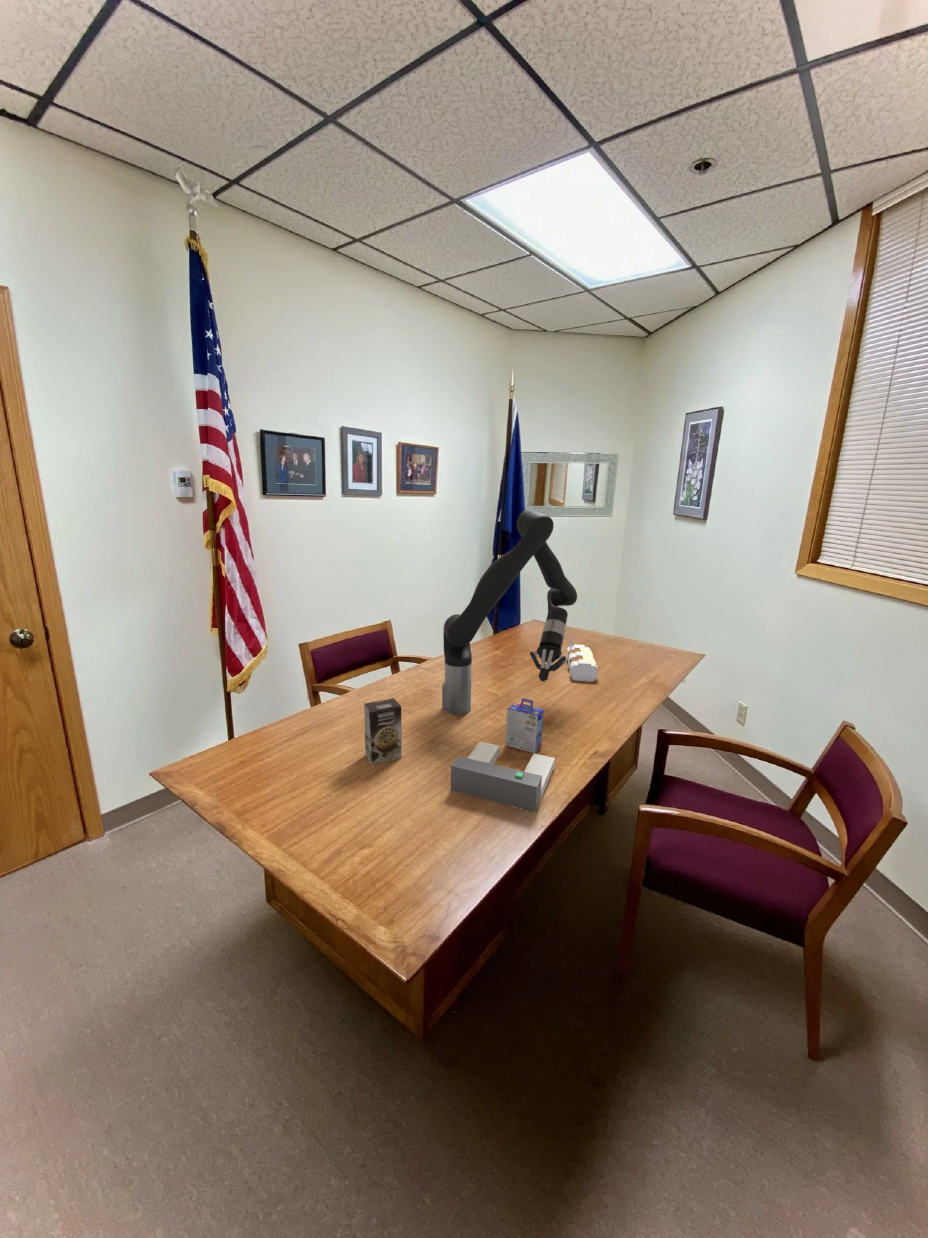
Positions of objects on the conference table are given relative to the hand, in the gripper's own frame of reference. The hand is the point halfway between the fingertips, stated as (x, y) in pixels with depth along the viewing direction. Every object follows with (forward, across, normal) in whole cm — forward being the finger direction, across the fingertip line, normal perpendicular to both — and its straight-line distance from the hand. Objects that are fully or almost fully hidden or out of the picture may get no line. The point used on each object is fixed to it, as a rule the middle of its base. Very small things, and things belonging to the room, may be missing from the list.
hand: (542, 680), depth 160 cm
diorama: (-26, +5, +46) cm, 53 cm away
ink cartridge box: (+24, 0, -5) cm, 25 cm away
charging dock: (+37, 0, -19) cm, 42 cm away
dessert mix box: (+40, -35, -21) cm, 57 cm away
